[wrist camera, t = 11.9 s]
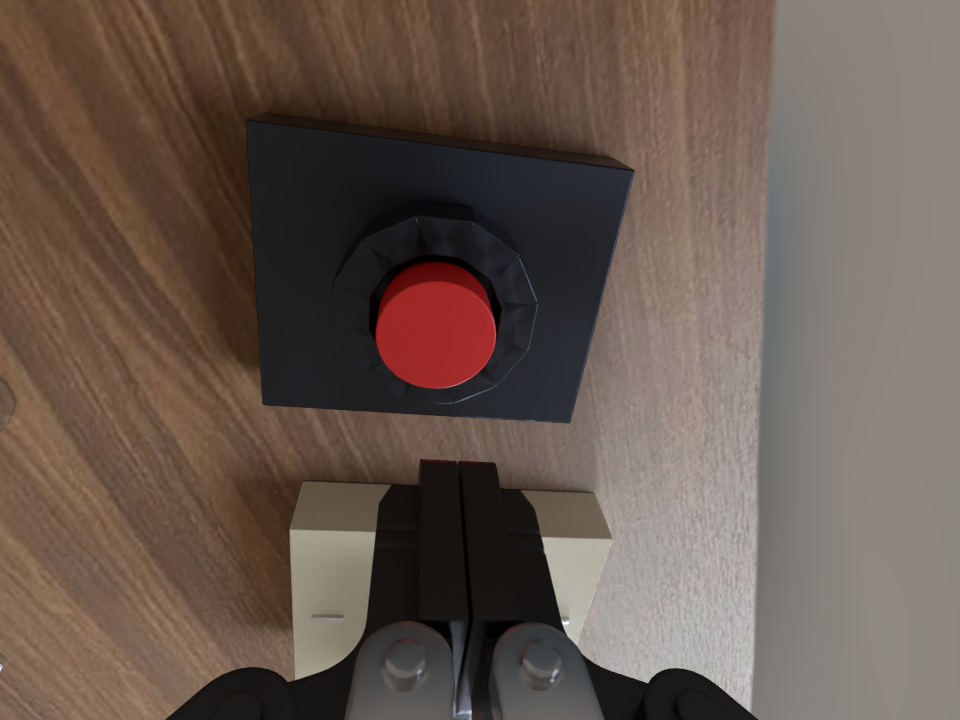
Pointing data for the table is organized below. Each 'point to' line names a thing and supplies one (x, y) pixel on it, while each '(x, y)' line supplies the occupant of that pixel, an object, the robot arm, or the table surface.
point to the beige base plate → (349, 555)
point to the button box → (425, 238)
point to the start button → (435, 325)
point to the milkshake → (5, 405)
